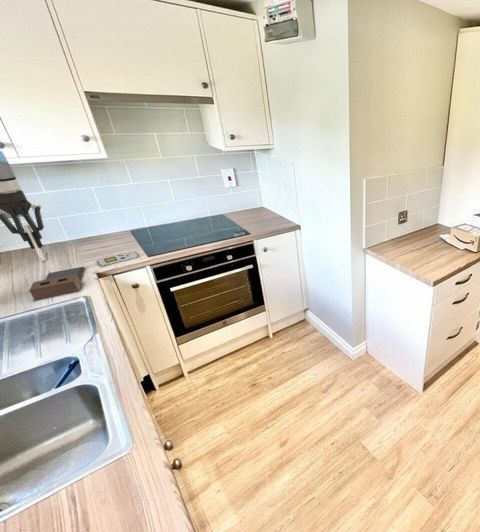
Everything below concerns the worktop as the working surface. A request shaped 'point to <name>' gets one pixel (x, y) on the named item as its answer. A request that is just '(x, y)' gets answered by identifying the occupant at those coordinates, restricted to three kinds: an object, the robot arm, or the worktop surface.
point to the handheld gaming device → (117, 258)
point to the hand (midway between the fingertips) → (37, 247)
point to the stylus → (34, 243)
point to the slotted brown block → (55, 287)
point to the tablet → (67, 273)
